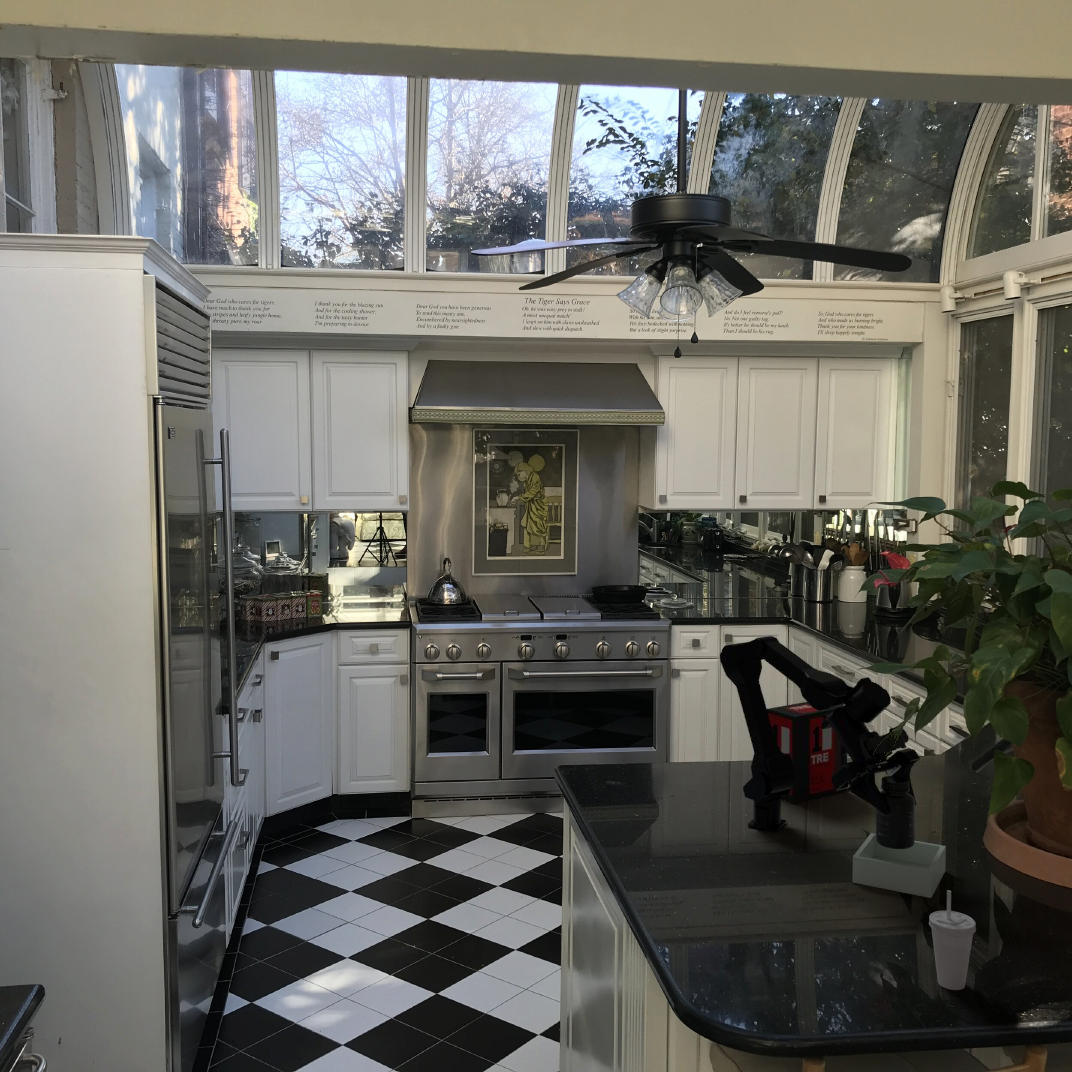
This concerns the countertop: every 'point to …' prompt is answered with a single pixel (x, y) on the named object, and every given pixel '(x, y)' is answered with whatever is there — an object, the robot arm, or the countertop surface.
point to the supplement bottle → (896, 815)
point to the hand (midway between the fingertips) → (901, 809)
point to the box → (900, 867)
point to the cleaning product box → (807, 750)
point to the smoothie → (952, 945)
